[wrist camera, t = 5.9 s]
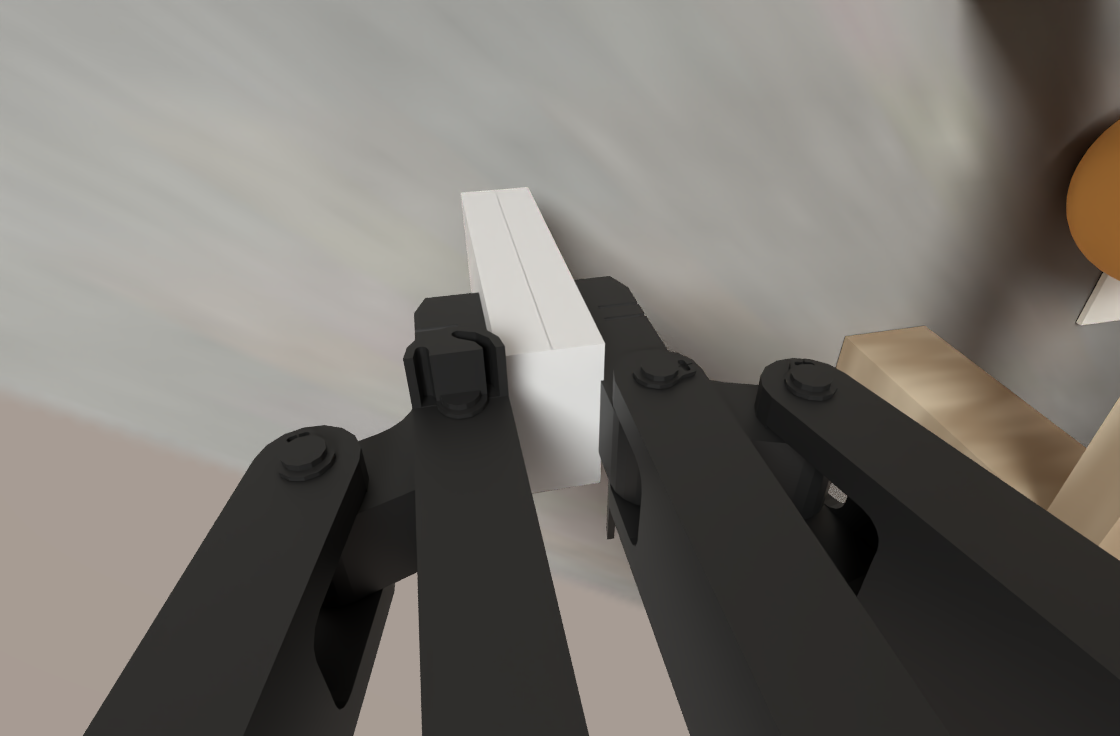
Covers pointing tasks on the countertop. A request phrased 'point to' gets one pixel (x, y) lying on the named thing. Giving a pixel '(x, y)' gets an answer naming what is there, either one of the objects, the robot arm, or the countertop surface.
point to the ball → (1098, 203)
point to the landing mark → (1102, 302)
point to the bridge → (995, 427)
